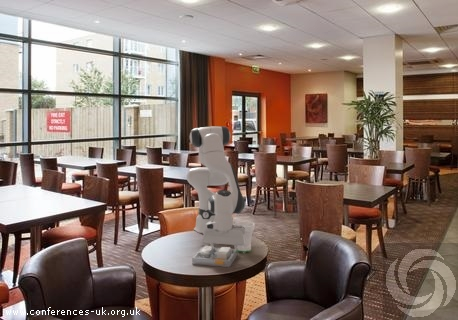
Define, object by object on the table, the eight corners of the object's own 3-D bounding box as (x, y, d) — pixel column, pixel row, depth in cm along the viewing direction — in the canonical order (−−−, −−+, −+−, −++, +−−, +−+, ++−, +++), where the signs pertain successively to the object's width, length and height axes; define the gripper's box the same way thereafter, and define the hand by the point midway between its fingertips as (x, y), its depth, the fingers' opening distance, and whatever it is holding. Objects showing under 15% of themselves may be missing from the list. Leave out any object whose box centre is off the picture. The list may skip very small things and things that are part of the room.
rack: (202, 252, 204) (202, 243, 204) (237, 255, 200) (237, 245, 200) (192, 264, 188) (191, 254, 187) (229, 267, 184) (229, 257, 183)
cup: (248, 255, 199) (248, 228, 198) (229, 252, 204) (229, 225, 203) (258, 249, 209) (258, 222, 207) (239, 246, 214) (239, 220, 213)
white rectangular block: (221, 254, 198) (221, 246, 198) (230, 255, 197) (230, 247, 197) (216, 261, 189) (216, 253, 188) (226, 262, 188) (226, 254, 187)
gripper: (246, 224, 192) (246, 252, 194) (205, 221, 197) (205, 249, 198) (244, 227, 186) (243, 256, 187) (201, 224, 191) (202, 253, 192)
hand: (223, 252), depth 193 cm, fingers open, 8 cm apart
